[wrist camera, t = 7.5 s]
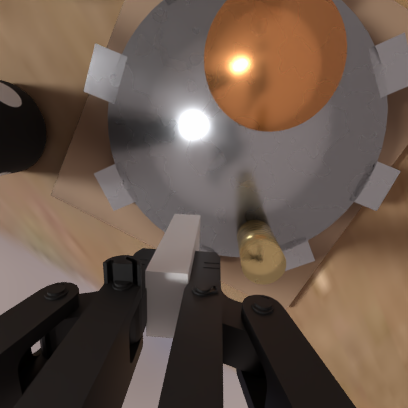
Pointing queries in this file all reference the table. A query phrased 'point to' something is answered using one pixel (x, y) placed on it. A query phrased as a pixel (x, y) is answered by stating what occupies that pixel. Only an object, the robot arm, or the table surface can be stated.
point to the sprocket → (249, 122)
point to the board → (152, 235)
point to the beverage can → (19, 130)
